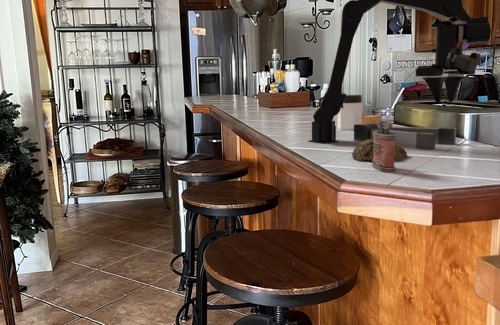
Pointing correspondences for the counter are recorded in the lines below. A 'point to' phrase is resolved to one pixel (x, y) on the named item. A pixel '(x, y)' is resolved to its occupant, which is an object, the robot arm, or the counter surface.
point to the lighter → (384, 147)
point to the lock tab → (371, 119)
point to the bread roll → (367, 147)
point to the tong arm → (440, 133)
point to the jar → (350, 112)
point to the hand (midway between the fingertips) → (444, 102)
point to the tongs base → (397, 137)
